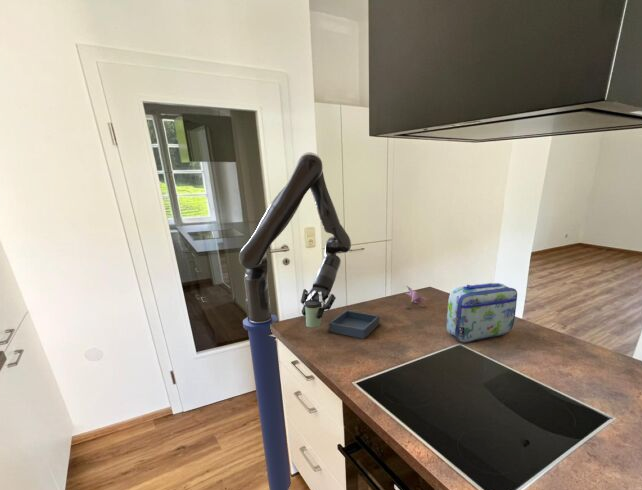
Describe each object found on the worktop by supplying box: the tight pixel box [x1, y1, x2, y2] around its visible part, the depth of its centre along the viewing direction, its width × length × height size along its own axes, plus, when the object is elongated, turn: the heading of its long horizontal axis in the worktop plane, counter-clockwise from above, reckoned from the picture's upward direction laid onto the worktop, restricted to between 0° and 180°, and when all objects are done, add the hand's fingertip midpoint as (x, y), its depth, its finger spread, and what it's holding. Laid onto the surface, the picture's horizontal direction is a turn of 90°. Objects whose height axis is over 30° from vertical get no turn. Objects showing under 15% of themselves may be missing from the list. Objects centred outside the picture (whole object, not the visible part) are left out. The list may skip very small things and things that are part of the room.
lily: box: [405, 285, 428, 309], centre depth 168 cm, size 12×12×10 cm
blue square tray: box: [328, 309, 380, 340], centre depth 145 cm, size 15×15×4 cm
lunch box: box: [446, 282, 518, 344], centre depth 137 cm, size 26×11×21 cm, turn 108°
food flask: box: [305, 299, 322, 329], centre depth 140 cm, size 6×6×10 cm
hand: (310, 316), depth 138 cm, fingers closed on food flask, 6 cm apart
